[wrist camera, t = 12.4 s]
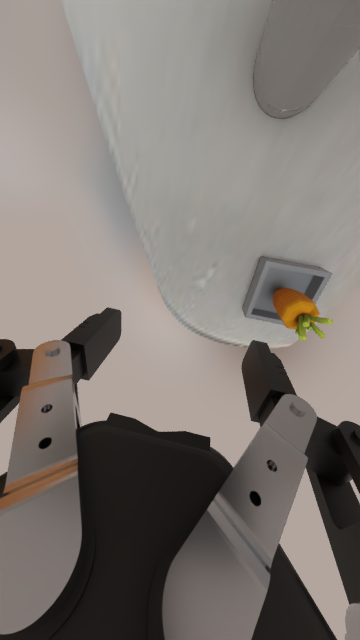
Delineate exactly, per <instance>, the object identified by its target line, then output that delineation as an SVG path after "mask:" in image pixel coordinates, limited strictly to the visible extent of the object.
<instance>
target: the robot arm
mask: <svg viewBox="0 0 360 640" xmlns="http://www.w3.org/2000/svg"><path fill="white" fill-rule="evenodd" d="M359 48H360V0H273V1H272V5H271V8H270V12H269V16H268V19H267V23H266V26H265V29H264V33H263V36H262V40H261V43H260V47H259V50H258V54H257V58H256V62H255V67H254V77H253V80H254V91H255V95H256V99H257V101H258V103H259V105H260V107H261V108H262V109H263V110H264V112H266V113H267V114H269V115H270V116H272V117H276V118H287V117H291V116H294V115H296V114H298V113H299V112H301V111H303V110H304V109H305V108H306V107H308V106H309V105H310V104H311V103H312V102H313V100H314V99H315V98H316V97H317V96H318V95H319V94H320V93H321V92H322V90H323V89H324V88H325V87H326V86H327V85H328V84H329V83H330V82H331V80H332V79H333V78H334V77H335V76H336V75H337V74H338V72H339V71H340V70H341V69H342V68H343V67H344V66H345V64H346V63H347V62H348V61H349V60H350V59H351V58H352V56H353V55H354V54H355V53H356V52H357V51H358V50H359ZM120 335H121V311H120V310H116V309H112V308H106V309H105V310H104V311H103V312H102V313H100V314H95V315H92V316H90V317H88V318H87V319H86V320H85V321H83V323H81V324H80V325H79V326H78V327H76V328H75V329H74V330H73V331H71V332H70V333H69V334H68V335H67V336H65V337H64V338H63V339H62V340H53V341H48V342H45V343H43V344H41V345H39V346H38V347H36V349H16V346H15V344H14V342H13V341H11V340H7V339H0V423H1V421H2V420H3V419H4V418H5V417H6V416H7V415H8V414H9V413H10V412H11V411H12V410H13V409H14V408H15V407H16V406H17V405H18V403H19V408H18V414H17V420H16V426H15V432H14V438H13V443H12V449H11V455H10V461H9V467H8V472H6V473H4V474H3V475H1V476H0V640H337V639H336V637H335V635H334V634H333V632H332V631H331V629H330V627H329V625H328V624H327V622H326V620H325V619H324V617H323V615H322V614H321V612H320V611H319V609H318V607H317V606H316V604H315V602H314V600H313V599H312V597H311V595H310V594H309V592H308V590H307V589H306V587H305V586H304V584H303V582H302V581H301V579H300V577H299V575H298V574H297V572H296V570H295V569H294V567H293V566H292V564H291V562H290V560H289V559H288V557H287V555H286V554H285V552H284V551H283V549H282V547H281V546H280V544H279V541H280V538H281V535H282V532H283V529H284V526H285V524H286V521H287V518H288V515H289V512H290V509H291V507H292V504H293V501H294V498H295V495H296V492H297V489H298V487H299V484H300V481H301V478H302V475H303V473H304V469H305V467H306V469H307V472H308V475H309V478H310V482H311V484H312V488H313V491H314V494H315V497H316V501H317V504H318V507H319V510H320V513H321V516H322V519H323V523H324V526H325V529H326V532H327V535H328V538H329V541H330V545H331V548H332V551H333V554H334V557H335V560H336V564H337V567H338V570H339V573H340V576H341V579H342V582H343V585H344V589H345V592H346V595H347V598H348V601H349V604H350V605H349V607H348V609H347V611H346V631H347V633H346V635H345V640H360V504H359V501H358V499H357V497H356V495H355V493H354V491H353V488H352V486H351V484H350V482H349V481H351V480H352V479H353V481H354V483H355V485H356V487H357V489H358V491H359V493H360V426H359V425H357V424H355V423H353V422H349V421H343V422H341V423H340V424H339V425H338V426H335V425H333V424H331V423H329V422H327V421H325V420H323V419H321V418H319V417H317V415H316V413H315V411H314V409H313V408H312V407H311V406H310V405H309V404H308V403H307V402H306V401H305V400H303V399H302V398H300V397H298V396H297V395H296V393H295V390H294V388H293V386H292V384H291V382H290V380H289V377H288V376H287V373H286V371H285V369H284V367H283V364H282V362H281V360H280V359H279V358H278V357H277V356H276V355H275V354H274V353H271V352H270V349H269V347H268V345H267V343H264V342H259V341H255V340H253V341H252V342H251V343H250V346H249V348H248V350H247V352H246V354H245V357H244V359H243V362H242V374H243V379H244V384H245V390H246V396H247V400H248V406H249V412H250V417H251V421H254V422H258V423H260V427H261V428H260V430H259V431H258V432H257V434H256V435H255V437H254V438H253V440H252V441H251V443H250V444H249V446H248V447H247V449H246V450H245V452H244V453H243V454H242V456H241V457H240V459H239V460H238V462H237V464H236V465H235V467H234V468H233V467H232V465H231V464H230V463H229V462H228V461H227V460H226V459H225V458H224V457H223V456H222V455H221V454H220V453H219V452H217V451H216V450H215V449H213V448H212V447H210V437H206V436H202V435H198V434H194V433H190V432H186V431H178V432H158V431H155V430H154V429H152V428H150V427H148V426H147V425H145V424H143V423H141V422H140V421H138V420H136V419H134V418H130V417H126V416H122V415H118V414H114V413H110V415H109V417H108V419H107V421H98V422H94V423H90V424H87V425H84V426H82V425H81V418H80V409H79V398H78V388H77V383H78V381H79V380H80V379H84V380H89V379H90V378H91V377H92V376H93V374H94V373H95V372H96V370H97V369H98V368H99V366H100V365H101V363H102V362H103V361H104V359H105V358H106V357H107V355H108V354H109V353H110V351H111V350H112V349H113V347H114V346H115V345H116V343H117V342H118V340H119V338H120Z"/></svg>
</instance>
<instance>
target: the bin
mask: <svg viewBox="0 0 360 640" xmlns="http://www.w3.org/2000/svg"><path fill="white" fill-rule="evenodd" d="M332 274H333V273H331V272H329V271H326V270H324V269H322V268H320V267H314V266H309V265H304V264H298V263H293V262H287V261H282V260H277V259H271V258H266V257H260V260H259V263H258V266H257V269H256V271H255V274H254V277H253V280H252V283H251V285H250V288H249V291H248V294H247V297H246V299H245V302H244V305H243V308H242V309H243V312H244V315H245V317H248V318H252V319H257V320H262V321H267V322H272V323H277V324H282V325H284V323H283V321H282V320H281V318H280V316H279V315H278V313H277V311H276V309H275V307H274V305H273V296H274V293H275V291H276V290H277V289H279V288H289V289H293V290H296V291H299V292H301V293H303V294H304V295H306V296H307V297H308V298H310V299H311V300H312V301H313V302H314V303H315V304H316V302H317V300H318V298H319V297H320V295H321V293H322V291H323V290H324V288H325V286H326V284H327V282H328V281H329V279H330V277H331V275H332Z"/></svg>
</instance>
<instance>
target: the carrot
mask: <svg viewBox="0 0 360 640" xmlns="http://www.w3.org/2000/svg"><path fill="white" fill-rule="evenodd" d="M273 305H274V307H275V309H276V311H277V313H278V315H279V316H280V318H281V320H282V321H283V323H284V325H285V326H286V327H287V328H291V329H296V332H295V333H296V334H299V339H300V340H306V330H305V328H307V329H308V330H311V329H313V330H314V331H315V332H316V334H318V336H320V338H324V336H325V334H324V333H323V332H322V331H321V330H320V329H319V328H318V327H317V326H316V325H315V324H314V322H315V321H316V322H319V323H323V324H332V322H333V321H332V319H327V318H319V317H318V315H319V311H318V309H317V307H316V305H315V303H314V302H313V301H312V300H311V299H310V298H308V297H307V296H306V295H304V294H303V293H301V292H299V291H296V290H293V289H289V288H279V289H277V290H276V291H275V293H274V296H273Z"/></svg>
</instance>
